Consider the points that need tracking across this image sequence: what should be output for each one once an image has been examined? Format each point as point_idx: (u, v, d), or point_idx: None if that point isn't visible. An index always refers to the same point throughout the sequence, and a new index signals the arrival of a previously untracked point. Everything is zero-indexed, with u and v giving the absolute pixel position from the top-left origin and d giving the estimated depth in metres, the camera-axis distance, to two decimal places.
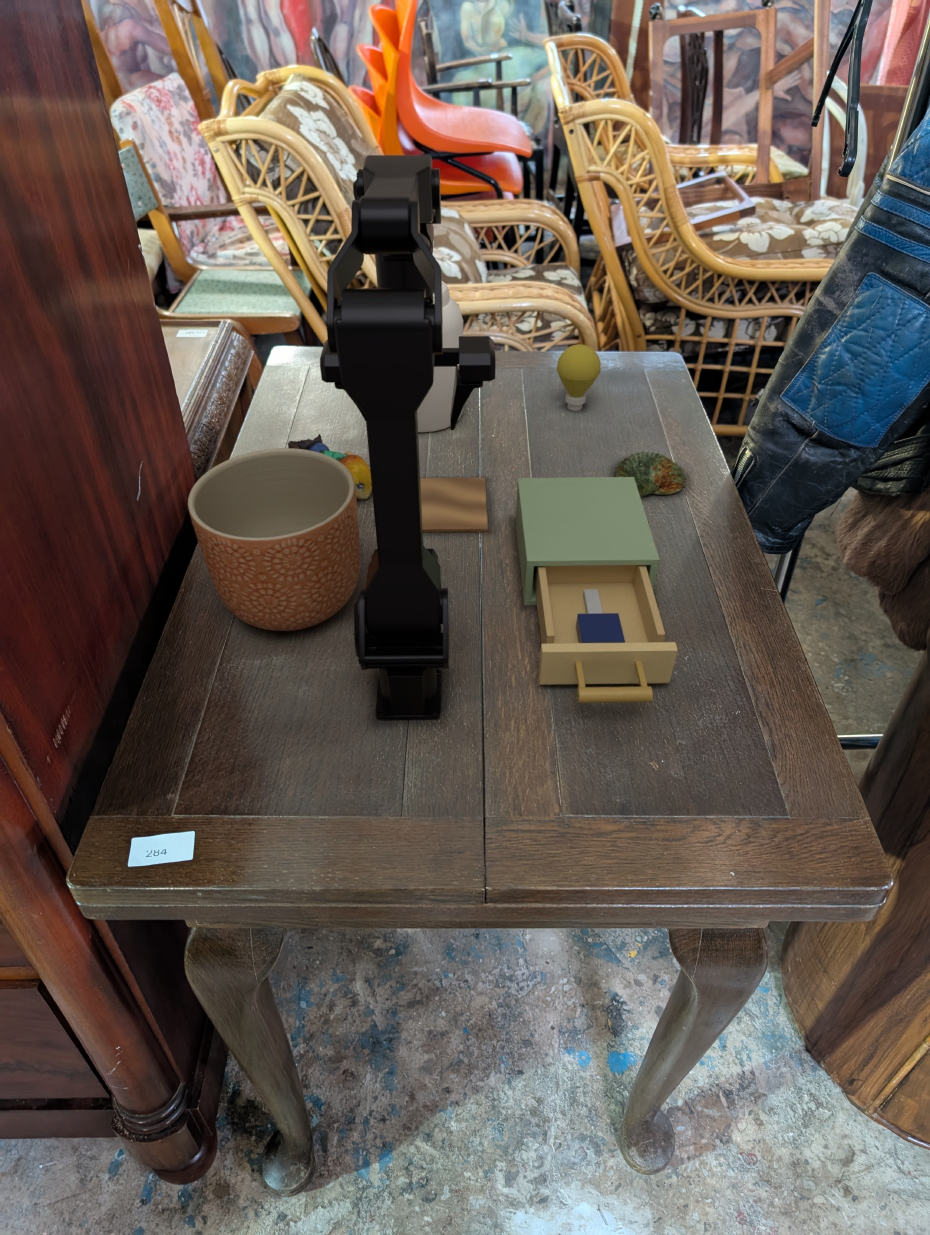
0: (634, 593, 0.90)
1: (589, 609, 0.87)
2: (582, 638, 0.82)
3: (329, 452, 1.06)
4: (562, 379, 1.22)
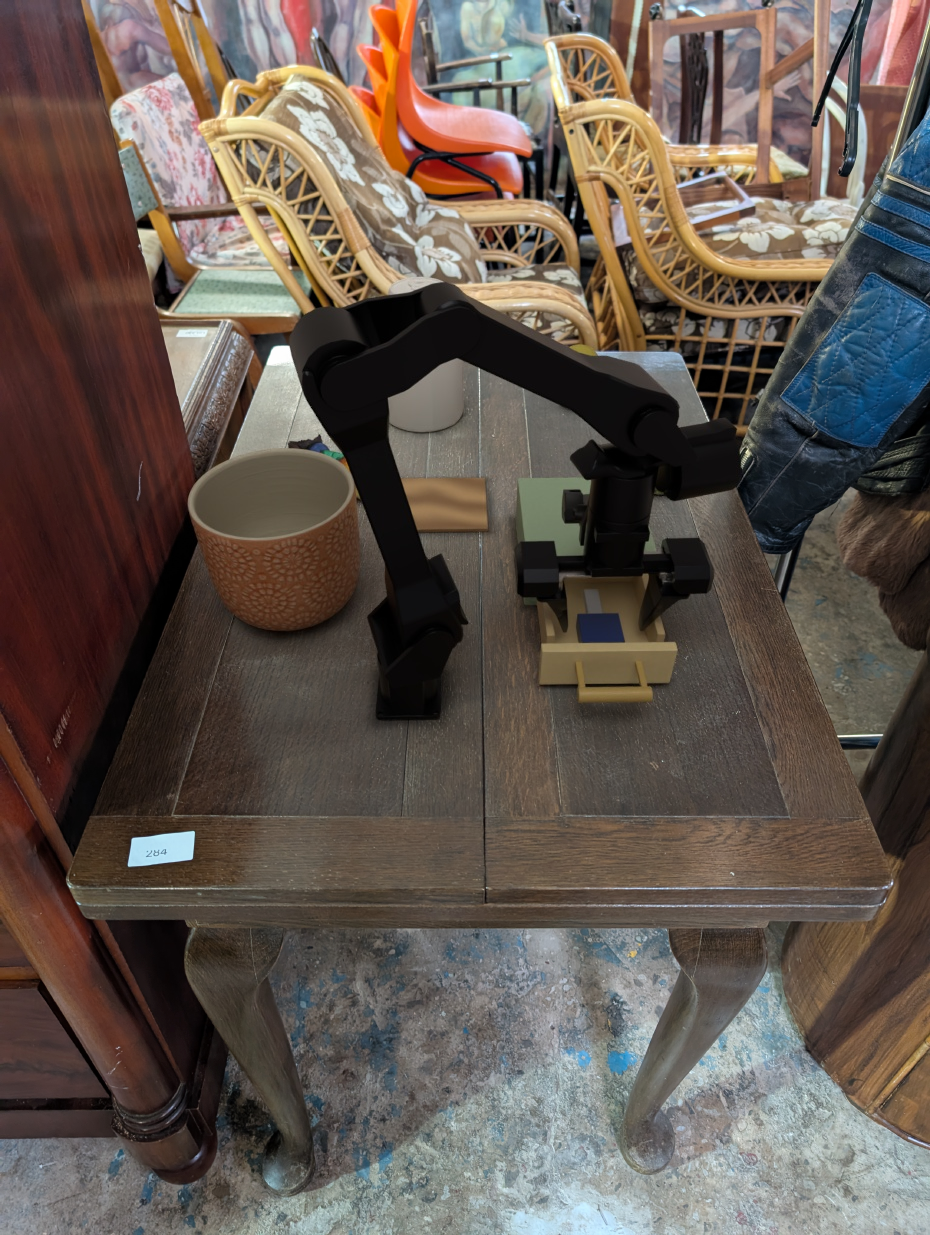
0: (634, 593, 0.90)
1: (589, 609, 0.87)
2: (582, 638, 0.82)
3: (329, 452, 1.06)
4: None
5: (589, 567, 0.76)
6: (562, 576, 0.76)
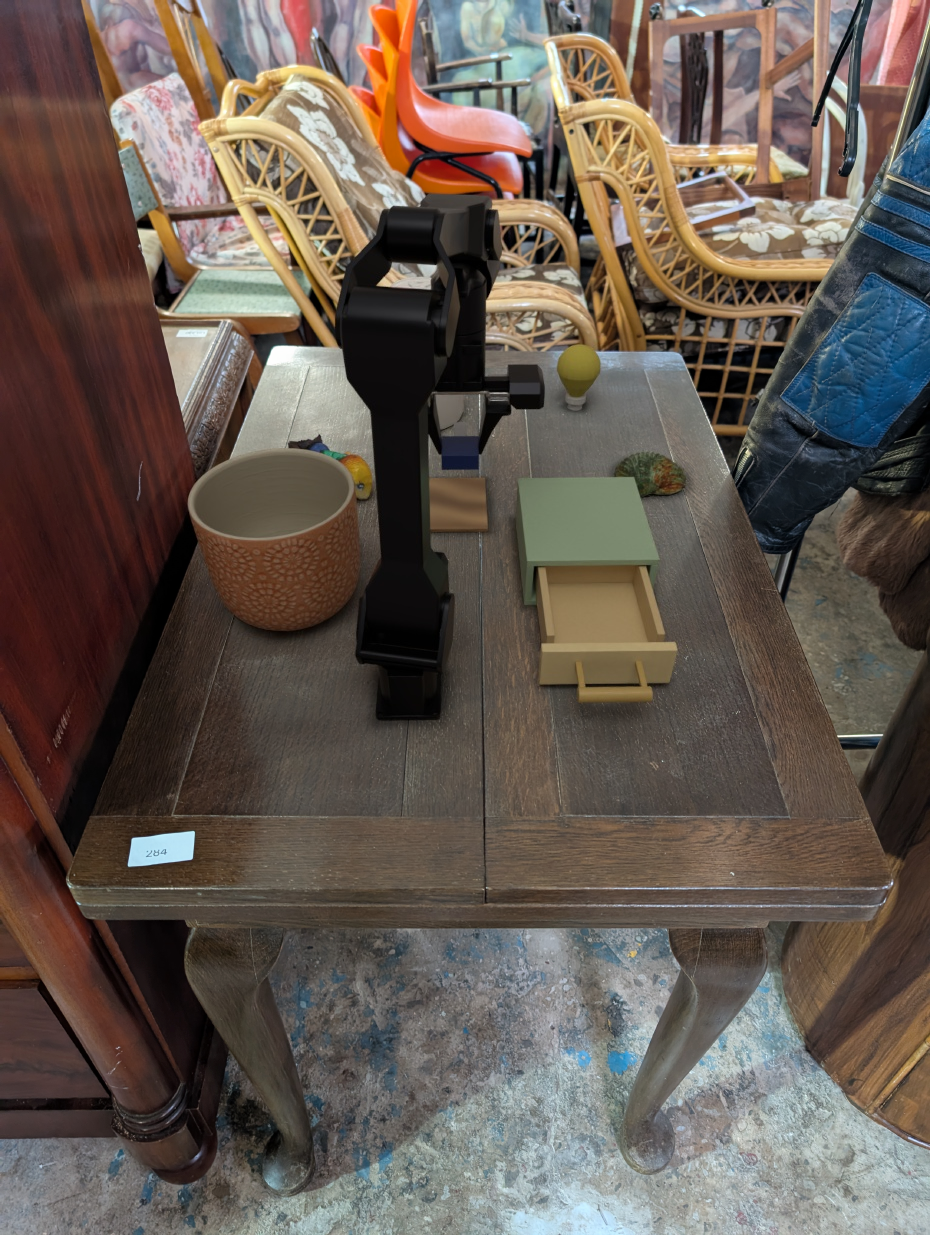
0: (634, 593, 0.90)
1: (455, 435, 0.98)
2: (442, 453, 0.93)
3: (329, 452, 1.06)
4: (562, 379, 1.22)
5: (437, 384, 0.87)
6: None
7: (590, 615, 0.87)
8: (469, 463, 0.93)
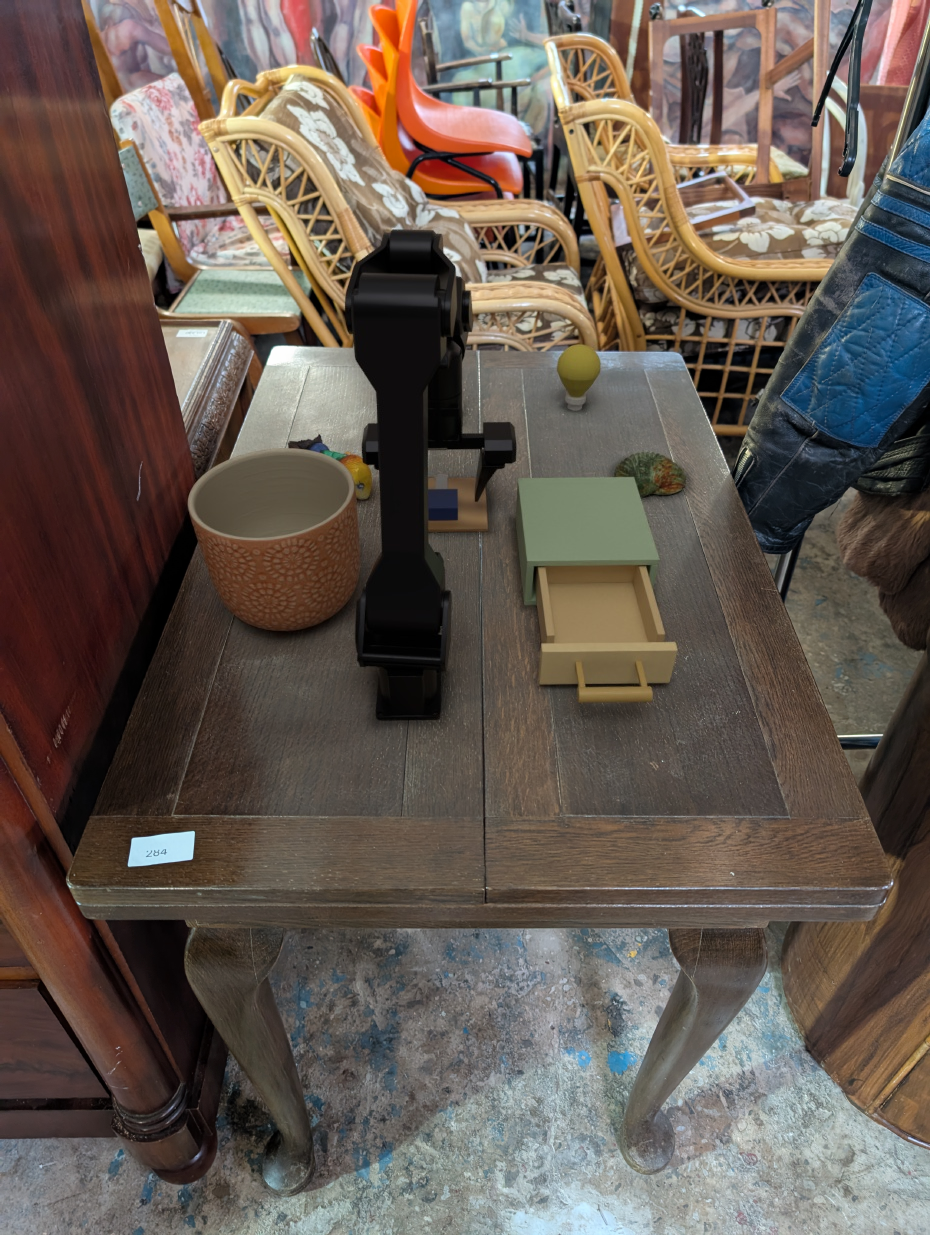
0: (634, 593, 0.90)
1: (436, 488, 1.07)
2: None
3: (329, 452, 1.06)
4: (562, 379, 1.22)
5: None
6: None
7: (590, 615, 0.87)
8: (449, 514, 1.02)
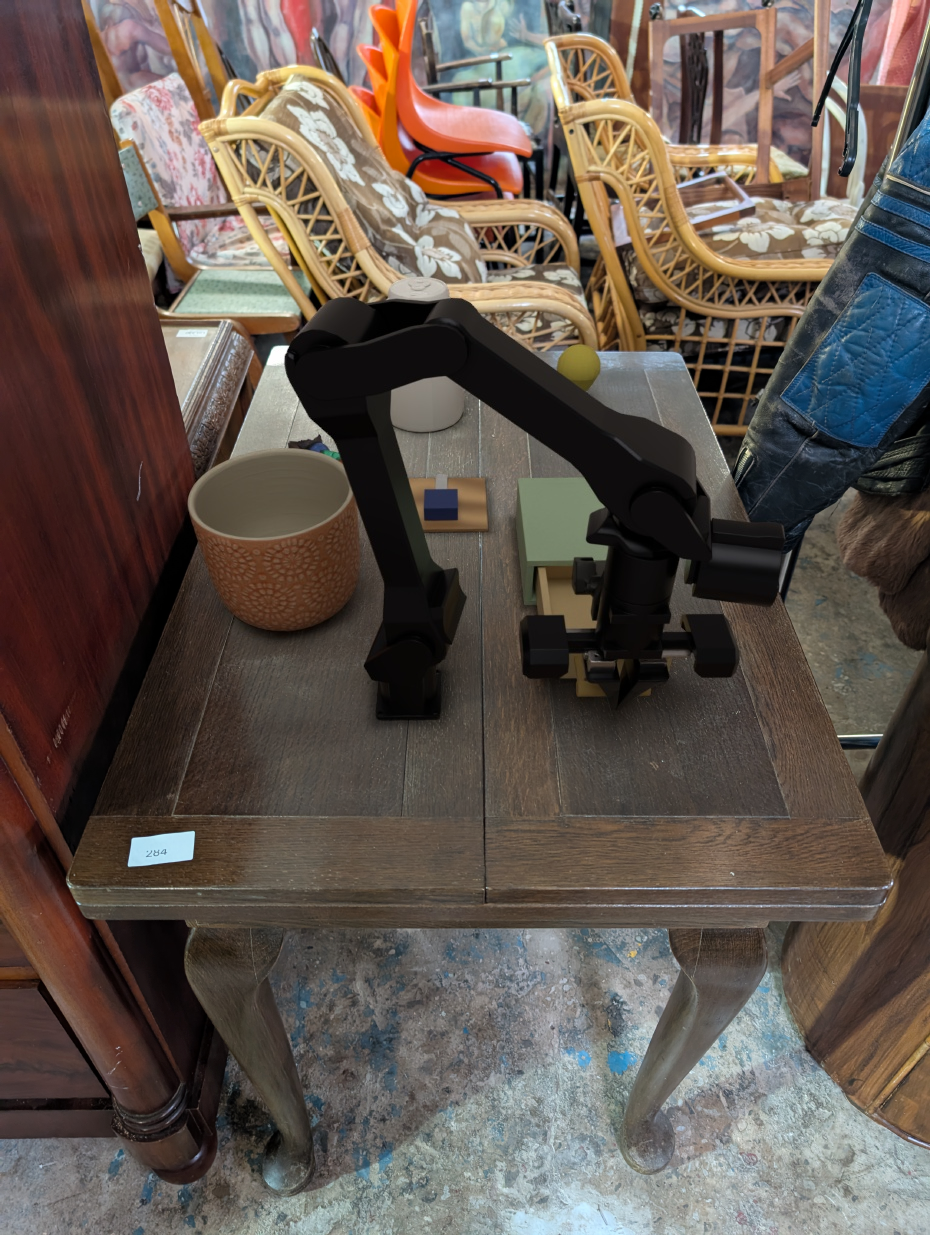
0: None
1: (436, 488, 1.07)
2: (424, 505, 1.02)
3: (329, 452, 1.06)
4: None
5: (602, 647, 0.69)
6: None
7: (589, 610, 0.88)
8: (449, 514, 1.02)
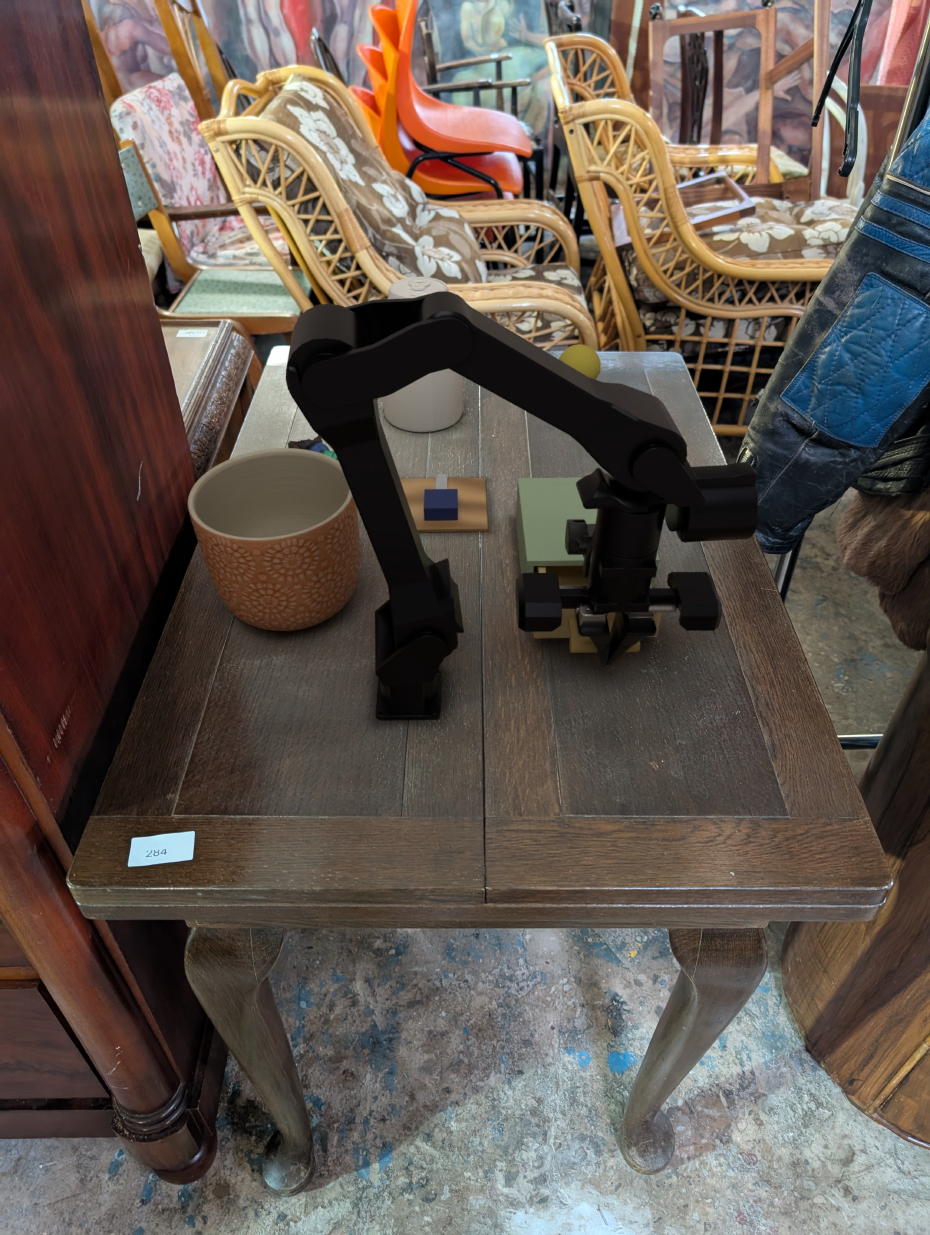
0: None
1: (436, 488, 1.07)
2: (424, 505, 1.02)
3: (329, 452, 1.06)
4: None
5: (593, 602, 0.73)
6: None
7: (582, 576, 0.92)
8: (449, 514, 1.02)
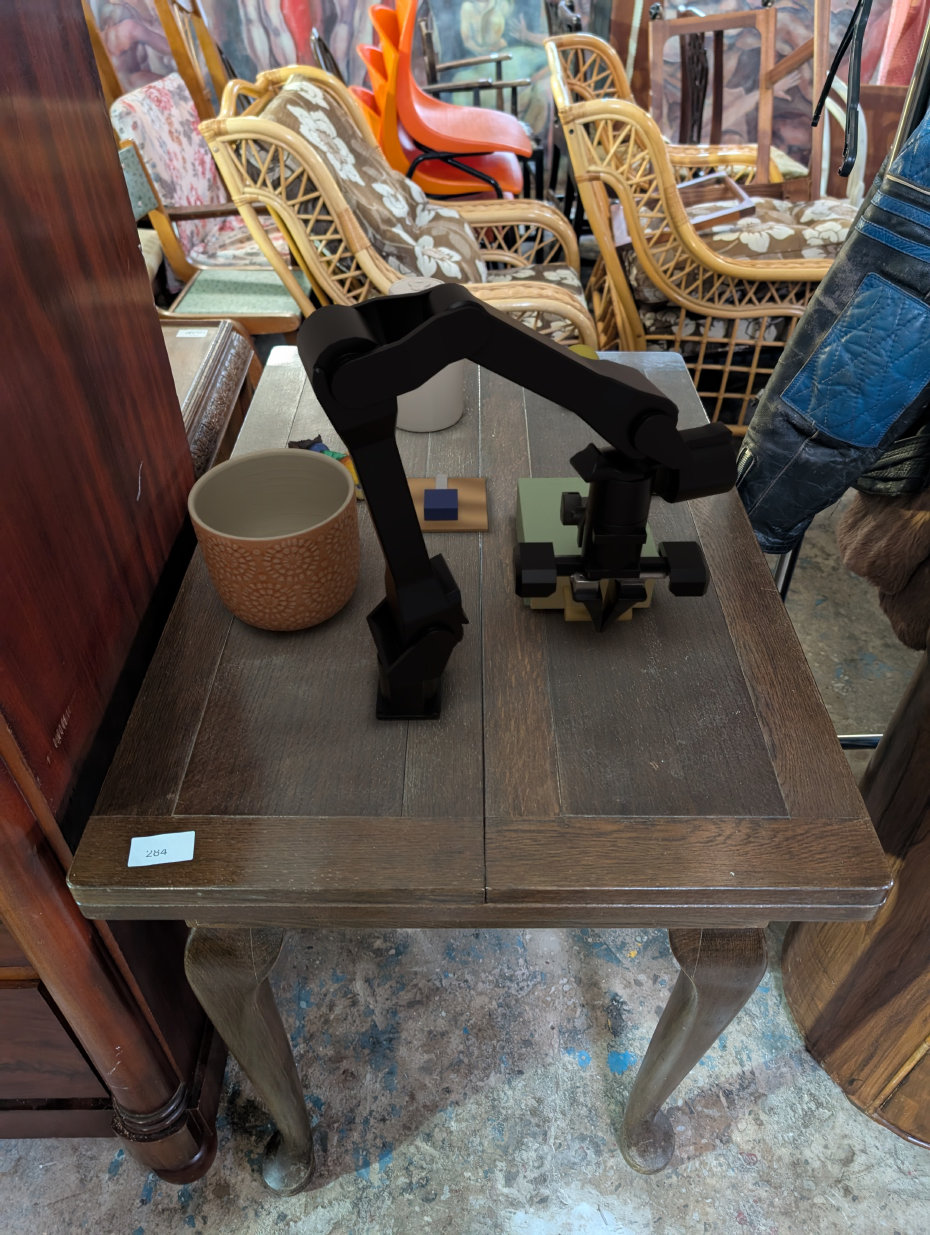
0: None
1: (436, 488, 1.07)
2: (424, 505, 1.02)
3: (329, 452, 1.06)
4: None
5: (587, 569, 0.77)
6: None
7: None
8: (449, 514, 1.02)
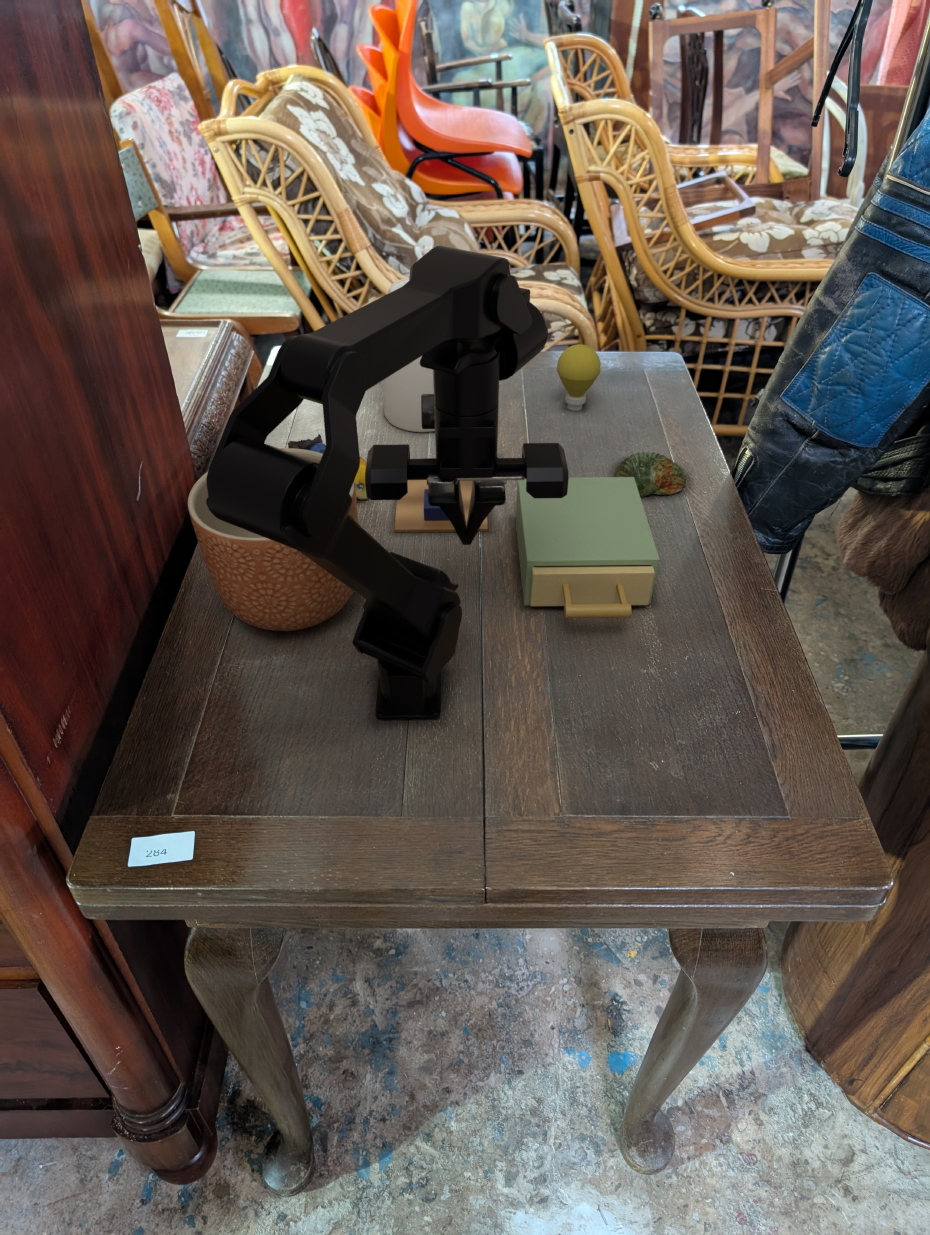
0: None
1: None
2: (424, 505, 1.02)
3: None
4: (562, 379, 1.22)
5: (440, 469, 0.73)
6: (454, 478, 0.73)
7: None
8: None
